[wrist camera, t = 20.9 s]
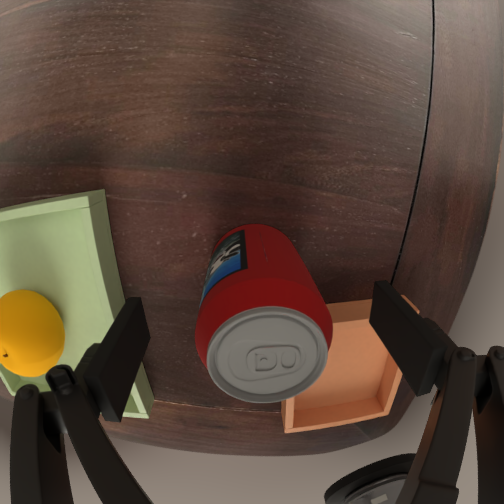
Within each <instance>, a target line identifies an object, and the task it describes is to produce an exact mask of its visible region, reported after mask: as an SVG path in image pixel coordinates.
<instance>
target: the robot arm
mask: <svg viewBox="0 0 504 504" xmlns="http://www.w3.org/2000/svg"><path fill="white" fill-rule="evenodd" d="M369 323H370V325H371V326H372V328H373V329H374V331H375V332H376V334H377V335H378V337H379V338H380V340H381V341H382V343H383V344H384V346H385V347H386V349H387V350H388V352H389V353H390V355H391V356H392V358H393V360H394V361H395V363H396V364H397V366H398V367H399V369H400V371H401V372H402V374H403V375H404V377H405V378H406V380H407V382H408V383H409V385H410V386H411V388H412V390H413V391H414V393H415V395H416V396H421V395H424V394H427V393H430V391H431V389H432V387H433V384H435V385H436V387H437V388H438V389H437V391H436V394H435V396H434V398H433V400H432V402H431V405H432V408H431V411H430V415H429V418H428V421H427V425H426V428H425V431H424V434H423V436H422V439H421V442H420V445H419V448H418V451H417V453H416V456H415V458H414V461H413V464H412V466H411V468H410V471H409V473H408V472H397V473H392V474H388V475H385V476H382V477H379V478H377V479H374V480H372V481H370V482H367V483H365V484H363V485H361V486H359V487H358V488H356V489H354V490H353V491H351V492H350V493H349V494H348V495H347V496H346V497H345V498H344V504H456V501H457V498H458V494H459V489H458V488H456V482H457V479H458V475H459V471H460V468H461V463H462V460H463V455H464V451H465V446H466V442H467V436H468V431H469V426H470V419H471V413H472V409H473V417H474V425H475V434H476V445H477V460H478V504H504V347H501V346H493V347H491V348H490V349H489V351H488V354H487V355H478V356H477V355H476V354H475V353H474V352H473V351H472V350H471V349H468V348H465V347H457V346H456V344H455V343H454V342H453V341H452V340H451V339H450V338H449V337H448V336H447V335H446V333H444V331H443V330H442V329H440V327H439V326H438V325H437V324H436V323H435V322H434V321H432V320H430V319H428V318H422V317H421V316H420V315H419V314H418V313H417V312H416V311H415V310H414V309H413V308H412V306H411V305H410V304H409V303H408V302H407V301H406V300H405V299H404V298H403V297H402V296H401V295H400V294H399V293H398V292H397V291H396V290H395V289H394V288H393V287H392V286H391V285H390V284H389V283H388V282H387V281H386V280H384V281H375V283H374V290H373V298H372V305H371V311H370V318H369ZM150 338H151V337H150V334H149V330H148V326H147V322H146V318H145V314H144V309H143V305H142V301H141V297H131V298H128V299H127V300H126V302H125V304H124V305H123V307H122V308H121V310H120V312H119V313H118V315H117V317H116V318H115V320H114V322H113V323H112V325H111V327H110V328H109V330H108V332H107V333H106V335H105V337H104V338H103V340H102V342H101V343H93V344H92V345H91V346H90V347H89V348H87V350H86V351H85V353H84V355H83V357H82V358H81V360H80V362H79V363H78V365H77V366H76V368H75V370H74V372H73V370H72V368H71V367H70V366H69V365H66V364H60V365H56V366H54V367H52V368H50V369H49V370H48V371H47V373H46V375H45V379H46V381H47V383H48V385H49V387H50V389H51V391H45V392H40V390H39V388H38V387H37V386H36V385H34V384H26V385H23V386H22V387H20V388H19V389H18V390H17V392H16V394H15V400H14V408H13V418H12V429H11V445H10V491H11V504H74V502H73V497H72V492H71V487H70V481H69V475H68V469H67V461H66V453H65V445H64V434H63V433H68V435H69V437H70V439H71V442H72V444H73V446H74V449H75V451H76V453H77V455H78V457H79V459H80V462H81V464H82V465H83V468H84V470H85V472H86V474H87V475H88V478H89V480H90V481H91V483H92V485H93V487H94V489H95V491H96V492H97V494H98V496H99V498H100V500H101V501H102V503H103V504H154V503H153V502H152V501H151V500H150V498H149V497H148V496H147V494H146V493H145V492H144V491H143V489H142V488H141V486H140V485H139V484H138V482H137V481H136V479H135V478H134V476H133V475H132V474H131V472H130V471H129V469H128V468H127V466H126V465H125V463H124V462H123V460H122V458H121V457H120V456H119V454H118V452H117V451H116V449H115V447H114V446H113V444H112V442H111V441H110V439H109V437H108V436H107V434H106V432H105V430H104V429H103V427H102V425H101V423H100V421H99V420H98V418H99V415H100V413H101V414H102V416H103V417H104V419H105V421H112V422H121V419H122V416H123V413H124V410H125V407H126V404H127V401H128V398H129V395H130V393H131V390H132V387H133V384H134V381H135V378H136V376H137V373H138V370H139V367H140V365H141V362H142V359H143V357H144V354H145V351H146V349H147V346H148V343H149V341H150Z"/></svg>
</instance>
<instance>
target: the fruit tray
mask: <svg viewBox="0 0 504 504" xmlns="http://www.w3.org/2000/svg"><path fill="white" fill-rule="evenodd" d="M21 289H25V290H30V291H35V292H37V293H38V294H40V295H42V296H44V297H45V298H46V299H47V300H48V301H49V302H51V303H52V305H53V306H54V307H55V309H56V310H57V311H58V313H59V315H60V317H61V319H62V321H63V325H64V330H65V344H64V350H63V353H62V355H61V357H60V359H59V360H58V362H57V364H56V365H60V364H66V365H69V366H70V367H71V368H72V370H73V372H74V370H75V368H76V366H77V365H78V363H79V362H80V360H81V358H82V357H83V355H84V353H85V351H86V350H87V348H89V347H90V346H91V345H92V344H93V343H101V342H102V340H103V338H104V337H105V335H106V333H107V332H108V330H109V328H110V327H111V325H112V323H113V322H114V320H115V318H116V317H117V315H118V313H119V312H120V310H121V308H122V307H123V305H124V304H125V298H124V294H123V290H122V285H121V281H120V276H119V272H118V267H117V262H116V257H115V252H114V247H113V241H112V235H111V229H110V223H109V217H108V210H107V203H106V195H105V189H102V190H95V191H89V192H83V193H76V194H71V195H65V196H59V197H54V198H48V199H43V200H38V201H33V202H28V203H23V204H18V205H14V206H9V207H5V208H0V298H1V297H2V296H3V295H5V294H6V293H8V292H11V291H15V290H21ZM56 365H55V366H56ZM45 375H46V373H45V374H43V375H41V376H38V377H23V376H20V375H17V374H15V373H13V372H11V371H10V370H8V369H6V368H5V367H4V366H3V365H2V364H1V363H0V376H1V378H2V380H3V382H4V384H5V385H6V387H7V389H8V390H9V392H10V394H11V395H13V396H15V394H16V392H17V390H18V389H19V388H20V387H22V386H23V385H26V384H34V385H36V386H37V387H38V388H39V390H40V392H45V391H51V389H50V387H49V385H48V383H47V381H46V379H45ZM153 401H154V395H153V393H152V390H151V387H150V384H149V381H148V378H147V375H146V372H145V369H144V366H143V363H142V362H141V365H140V367H139V370H138V373H137V376H136V378H135V381H134V384H133V387H132V390H131V393H130V395H129V398H128V401H127V404H126V407H125V410H124V413H123V416H126V417H136V418H149V416H150V412H151V409H152V405H153ZM100 414H101V413H100Z"/></svg>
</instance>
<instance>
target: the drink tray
mask: <svg viewBox="0 0 504 504" xmlns="http://www.w3.org/2000/svg"><path fill="white" fill-rule="evenodd" d="M401 296H402V297H403V298H404V299H405V300H406V301H407V302H408V303H409V304H410V305H411V306H412V308H413V309H414V310H415V311H416V312H417V313H418V314H419V310H418V309H417V308H416V307H415V306H414V305H413V304H412V303H411V302H410V301H409V300H408V298H406V296H405V295H401ZM371 305H372V299H367V300H359V301H350V302H341V303H331V304H326V306H327V308H328V310H329V312H330V315H331V318H332V322H333V337H332V343H331V346H330V349H329V351H328V359H327V363H326V366H325V368H324V370H323V372H322V374H321V375H320V377H319V378H318V379H317V381H316V382H315V383H314V384H313V385H312V386H310V387H309V388H308V389H307V390H305V391H304V392H302V393H300V394H299V395H296V396H294V397H292V398H289V399H286V400H283V401H282V407H281V413H282V419H283V425H284V431H285V433H291V432H300V431H307V430H314V429H321V428H327V427H333V426H338V425H344V424H349V423H354V422H359V421H363V420H368V419H372V418H376V417H380V416H385V415H388V414H389V411H390V409H391V406H392V403H393V400H394V398H395V395H396V392H397V389H398V386H399V383H400V380H401V377H402V372H401V371H400V369H399V367H398V366H397V364H396V363H395V361H394V360H393V358H392V356H391V355H390V353H389V352H388V350H387V349H386V347H385V346H384V344H383V343H382V341H381V340H380V338H379V337H378V335H377V334H376V332H375V331H374V329H373V328H372V326H371V325H370V323H369V318H370V311H371Z"/></svg>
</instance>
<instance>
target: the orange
mask: <svg viewBox="0 0 504 504" xmlns="http://www.w3.org/2000/svg"><path fill="white" fill-rule="evenodd" d="M64 344H65V330H64V325H63V321H62V319H61V317H60V315H59V313H58V311H57V310H56V309H55V307H54V306H53V305H52V303H51V302H49V301H48V300H47V299H46V298H45V297H44V296H42V295H40V294H38V293H37V292H35V291H30V290H25V289H21V290H15V291H11V292H8V293H6V294H5V295H3V296H2V297H1V298H0V363H1V364H2V365H3V366H4V367H5V368H6V369H8V370H10V371H11V372H13V373H15V374H17V375H20V376H23V377H38V376H41V375H43V374H45V373H47V371H48V370H49V369H50V368H52V367H54V366H55V365H56V364H57V362H58V360H59V359H60V357H61V355H62V353H63V350H64Z"/></svg>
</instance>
